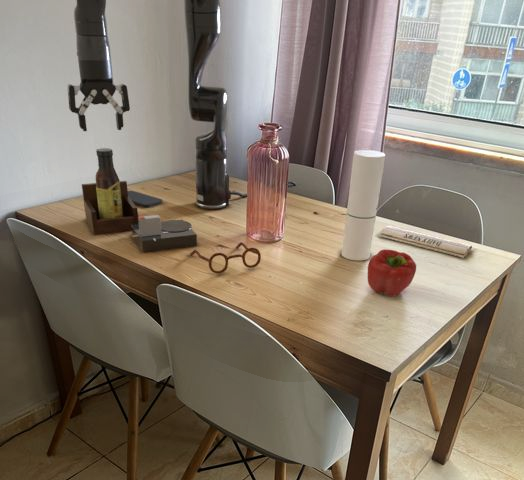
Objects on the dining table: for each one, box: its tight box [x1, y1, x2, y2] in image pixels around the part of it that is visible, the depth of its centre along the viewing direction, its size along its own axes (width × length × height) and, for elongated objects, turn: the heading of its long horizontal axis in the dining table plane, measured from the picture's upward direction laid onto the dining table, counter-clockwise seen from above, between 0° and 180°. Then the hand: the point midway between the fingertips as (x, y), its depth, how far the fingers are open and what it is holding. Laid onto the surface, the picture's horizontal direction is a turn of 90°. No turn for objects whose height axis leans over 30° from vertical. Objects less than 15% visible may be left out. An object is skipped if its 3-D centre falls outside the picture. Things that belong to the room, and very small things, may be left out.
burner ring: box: [160, 219, 192, 232], centre depth 143 cm, size 9×9×1 cm
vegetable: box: [367, 248, 417, 297], centre depth 119 cm, size 11×10×10 cm
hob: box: [130, 221, 198, 253], centre depth 141 cm, size 16×13×3 cm
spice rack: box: [81, 180, 139, 235], centre depth 148 cm, size 12×12×10 cm
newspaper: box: [378, 225, 473, 259], centre depth 148 cm, size 24×7×2 cm, turn 56°
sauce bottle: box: [95, 147, 123, 219], centre depth 145 cm, size 7×6×20 cm
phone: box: [127, 190, 163, 208], centre depth 169 cm, size 7×1×15 cm
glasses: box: [189, 241, 262, 275], centre depth 131 cm, size 13×13×5 cm
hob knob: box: [138, 214, 161, 237], centre depth 136 cm, size 5×2×5 cm, turn 115°
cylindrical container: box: [341, 149, 386, 261], centre depth 133 cm, size 7×7×25 cm
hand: (102, 130), depth 137 cm, fingers open, 8 cm apart
